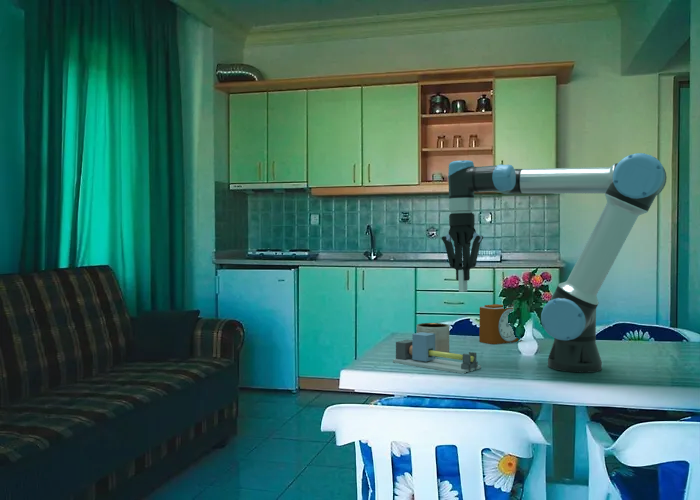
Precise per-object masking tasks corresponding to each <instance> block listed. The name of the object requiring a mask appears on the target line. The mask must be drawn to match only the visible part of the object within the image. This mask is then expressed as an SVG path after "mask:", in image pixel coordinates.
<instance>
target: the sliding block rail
mask: <svg viewBox="0 0 700 500" xmlns="http://www.w3.org/2000/svg"><path fill="white" fill-rule="evenodd" d="M428 355H430V356H437V357H436V358H435V359H434V360H430V361H427V362H425V361H418V360H412V339H403V340H400V341H399V340H398V341H395V358H394V359H392V363H395V364H399V365H405V366H406V365H408V366H413V367H419V368H426V369H432V370H439V371H445V372H449V371H450V373H456V372H457V373H456V374H462V373H465V374H467V373H466V372H468V373H471V372H473V370H474V371H477V370H480V369H482V365H481V364H480V365H479V362H478V361H477V352H475V351H468V353H462V354H461V353H452V352H449V353H447V352H440V351H433V350H428ZM439 358H445V359H439ZM447 359H452V360H447ZM453 360H459V361H453ZM460 361H462V362H460ZM470 371H471V372H470Z"/></svg>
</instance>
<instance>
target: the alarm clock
mask: <svg viewBox="0 0 700 500" xmlns="http://www.w3.org/2000/svg"><path fill="white" fill-rule="evenodd" d="M503 305H504V304H497V303H494V304H484V306H479V320H478V321H479V323H478V325H479V332H478V333H479V335H478V336H479V339H478V340H479V341H478V342H479V343H482V344H488V345H503V344H508V343H509V344H510V342H511V343H516V342H517V341H518V340H519V339H518V338H516V337H515V335H514V331H513V329H512V327H511V326H510V325H509V324H508V315H509V313H510V312H512V311H513V308H514V307H510V308H506V309H504V308H503ZM517 343H518V342H517Z"/></svg>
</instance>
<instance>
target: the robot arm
mask: <svg viewBox="0 0 700 500" xmlns="http://www.w3.org/2000/svg"><path fill="white" fill-rule="evenodd" d="M474 164H475V163H474V161H472V160H467V159H466V160H454V161H451V162H450V163H449V164H448V175H447V179H448V181H447V182H448V212H449V213H450V214H449V215H448V226H449V229H448V233H447V234H446V235H444V236H442V237H441V241H442V242H443V244H444V246H445V250H446V251H445V252H446V255H447V260H448V264H449V267H450V268H452V269H454V270H455V279H456V281H458V292H459V293H466V292H468V281H470V275H471V274H470V272H471V269H473V268H476V266H477V261H478V257H479V251H480V246H481V243H482V241H483V239H484V236H483V235H479V234H478V233H477V230H476V229H475V225H476V223H475V221H476V217H475V216H476V215H475V213H474V212H475V193H482V192H484V193H485V192H487V193H488V192H489V193H490V192H496V193H499V194H504V195H513V194H518V195H519V194H604V196H605V199H606V204H605V206H604V208H603V210H602V212H601V214H600V215H599V218H598V220H596V223H595V226H594V227H593V229H592V231H591V233H590V235H589V237H588V239H587V241H586V243H585V244H584V247H583V249H582V251H581V253H580V254H579V256H578V258H577V260H576V262H575V264H574V265H573V268H572V269H571V272H570V274H569V276H568V278H567V280H566V281H564V282H560V283H558V285H557V286H556V289H555V290H554V292H553V294H552V296H551V298H550V300H549V301H547V302H546V303H545V305H544V306H543V308H542V311H541V314H540V321H541V327H543V330H544V331H545V332H546V334H548V335H549V336H550V337H552V338H554V339H553V340H554V341H553V343H552V347H551V349H550V352H549V355H548V358H547V366H548V367H549V368H551V369H553V370H557V371H561V372H570V373H594V372H595V373H596V372H600V371H602V369H603V368H602V366H603V362H602V358H601V356H600V355H601V354H600V352H599V349H598V346H597V343H596V342H597V341H596V340H597V337H596V336H597V307H598V306H599V304H600V303H599V300H598V293H599V291H600V289H601V287H602V286H603V284H604V282H605V280H606V278H607V275H608V274H609V272H610V270H611V268H612V266H613V265H614V263H615V261H616V260H617V257H618V256H619V253H620V251H621V249H622V248H623V246H624V244H625V242H626V241H627V239H628V237H629V235H630V232H631V231H632V229H633V227H634V225H635V224H636V221H637V219H638V218H639V217H640V216H641V215H644V214H647V213H648V212H649V210H650V208H651V207H652V205H653V203H654V201H655V199H656V198H657V196H658V195H660V194H661V192H662V191H663V190H664V188H665V186H666V184H667V172H666V169H665V167H664V166H663V164H662V162H661V161H660V160H659V159H658V158H656V157H655V156H653V155H651V154H647V153H642V152H638V153H633V154H629V155H626V156H625V157H623V158H622V159H621V160H620V161H619V162H617V163H613V164H612V165H610V166H607V167H605V166H601V167H600V166H599V167H597V166H595V167H592V166H591V167H560V168H559V167H558V168H557V167H549V168H548V167H546V168H543V167H542V168H514V166H513V165H511V164H502V163H499V164H496V165H485V166H475V165H474ZM472 240H473V242H472ZM452 241H453V243H452ZM471 242H472V244H471Z"/></svg>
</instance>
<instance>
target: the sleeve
mask: <svg viewBox="0 0 700 500" xmlns="http://www.w3.org/2000/svg"><path fill="white" fill-rule="evenodd" d="M411 340H412V360H418V361H425V362H427V361H430V360H434V359H436V357H435V356H430V355H428V350H433V351H435V334H432V333H424V332H420V333H417V332H416V333H413V334H412V339H411Z"/></svg>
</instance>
